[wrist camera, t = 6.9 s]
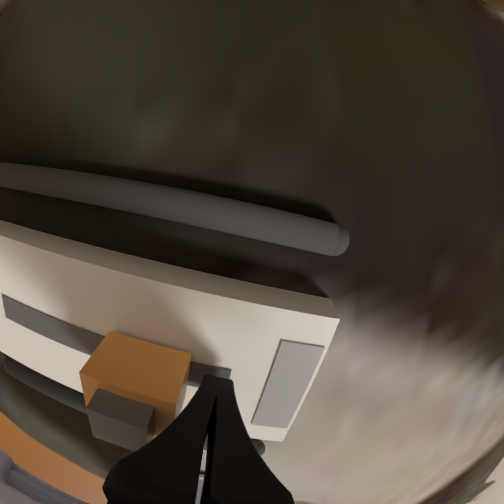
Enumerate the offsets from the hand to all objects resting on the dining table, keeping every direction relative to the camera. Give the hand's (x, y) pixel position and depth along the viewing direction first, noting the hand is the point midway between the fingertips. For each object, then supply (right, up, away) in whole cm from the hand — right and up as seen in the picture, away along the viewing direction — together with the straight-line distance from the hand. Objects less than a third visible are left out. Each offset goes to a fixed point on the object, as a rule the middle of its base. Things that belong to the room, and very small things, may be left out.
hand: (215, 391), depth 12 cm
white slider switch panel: (-6, +2, +2) cm, 7 cm away
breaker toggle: (-3, +1, +1) cm, 4 cm away
